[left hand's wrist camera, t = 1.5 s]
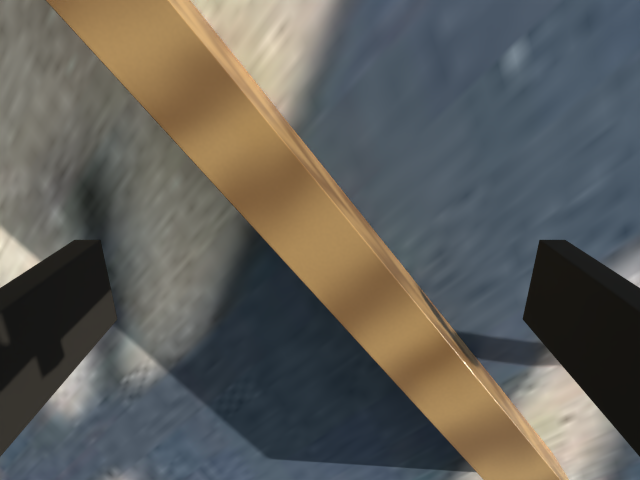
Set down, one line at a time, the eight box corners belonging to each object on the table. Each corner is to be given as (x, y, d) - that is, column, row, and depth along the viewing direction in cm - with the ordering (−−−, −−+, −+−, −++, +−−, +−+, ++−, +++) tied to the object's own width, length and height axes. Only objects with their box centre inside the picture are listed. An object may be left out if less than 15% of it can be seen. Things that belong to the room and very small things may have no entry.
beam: (27, -76, 28) (-73, -130, 21) (78, -140, 26) (-11, -219, 19) (510, 475, 46) (543, 545, 39) (553, 453, 45) (595, 522, 38)
